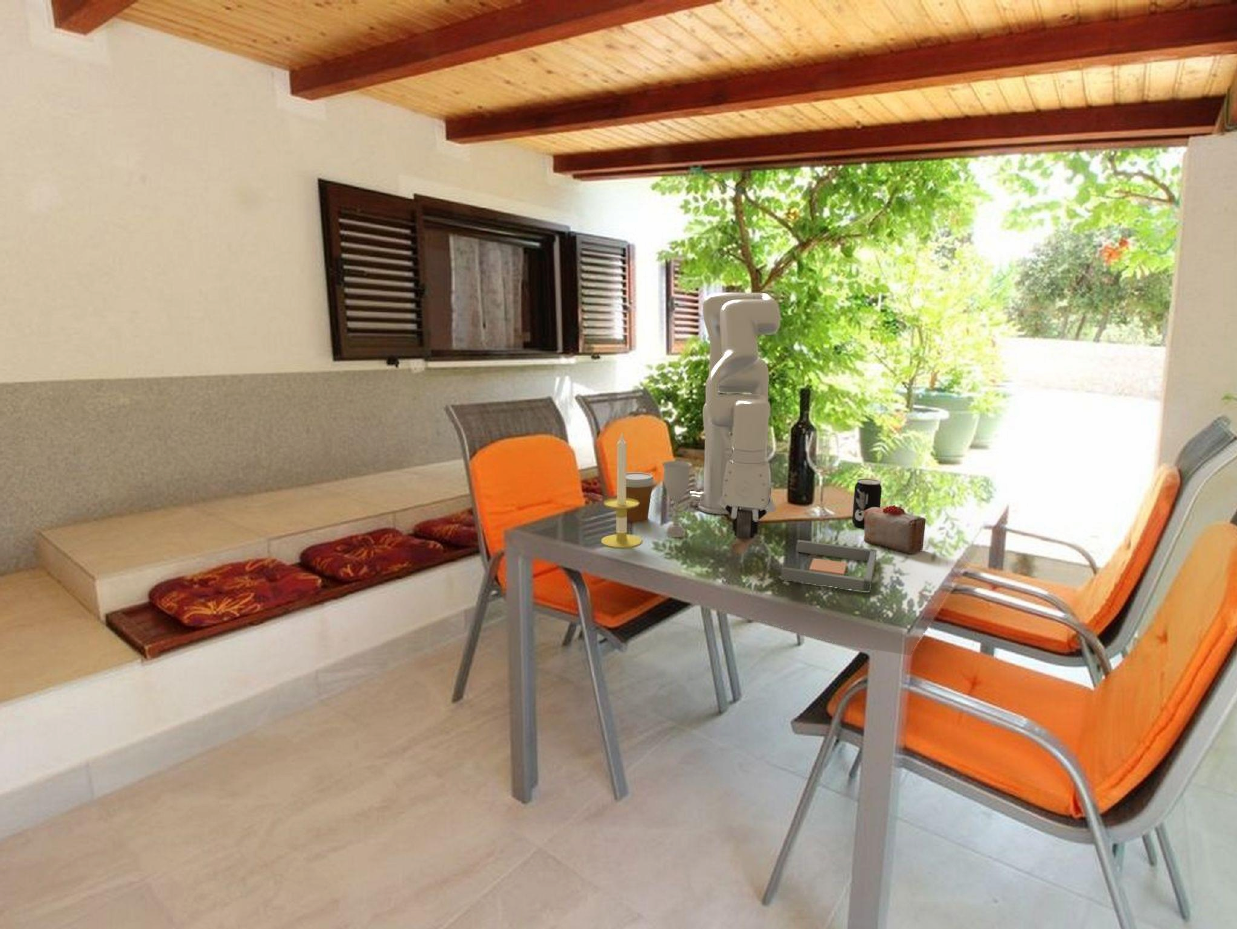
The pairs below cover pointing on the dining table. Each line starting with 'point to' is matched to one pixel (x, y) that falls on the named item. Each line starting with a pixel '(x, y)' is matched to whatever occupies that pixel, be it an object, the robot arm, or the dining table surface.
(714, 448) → the robot arm
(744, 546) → the scraper
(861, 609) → the dining table surface
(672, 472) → the chalice
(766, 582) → the dining table surface
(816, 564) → the tile
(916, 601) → the dining table surface
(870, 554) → the frame
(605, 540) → the candle
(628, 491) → the disposable coffee cup
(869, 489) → the beverage can
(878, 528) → the food item
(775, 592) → the dining table surface
